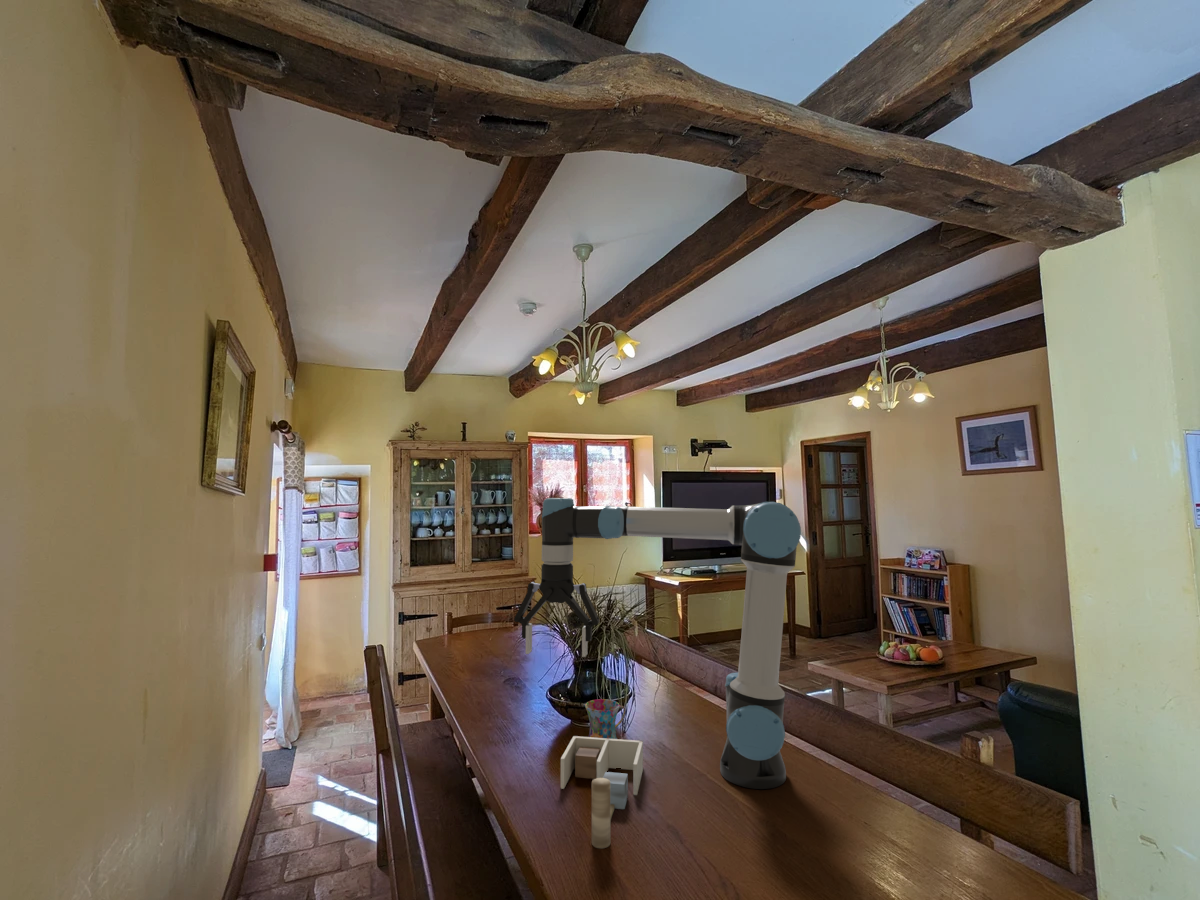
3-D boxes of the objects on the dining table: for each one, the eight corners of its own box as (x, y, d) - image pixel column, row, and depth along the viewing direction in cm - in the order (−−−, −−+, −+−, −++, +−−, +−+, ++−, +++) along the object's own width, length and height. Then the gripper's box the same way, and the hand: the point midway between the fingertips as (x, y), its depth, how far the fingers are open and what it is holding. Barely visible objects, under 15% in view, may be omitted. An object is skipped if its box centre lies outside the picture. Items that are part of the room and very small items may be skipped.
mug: (596, 756, 148) (596, 713, 149) (578, 743, 156) (578, 702, 157) (635, 746, 154) (634, 704, 155) (616, 734, 162) (616, 695, 163)
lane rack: (573, 763, 144) (573, 736, 145) (643, 768, 141) (642, 740, 142) (560, 788, 131) (560, 758, 132) (637, 795, 128) (636, 764, 129)
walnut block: (580, 767, 142) (580, 746, 142) (600, 769, 141) (600, 748, 141) (575, 777, 137) (575, 755, 137) (595, 779, 136) (595, 757, 136)
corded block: (605, 795, 128) (605, 743, 129) (627, 797, 127) (627, 745, 128) (586, 846, 109) (586, 785, 110) (612, 849, 108) (612, 787, 109)
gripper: (611, 562, 140) (611, 652, 138) (512, 560, 144) (510, 647, 142) (606, 565, 133) (606, 660, 131) (502, 563, 137) (500, 655, 135)
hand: (556, 654), depth 137 cm, fingers open, 13 cm apart
